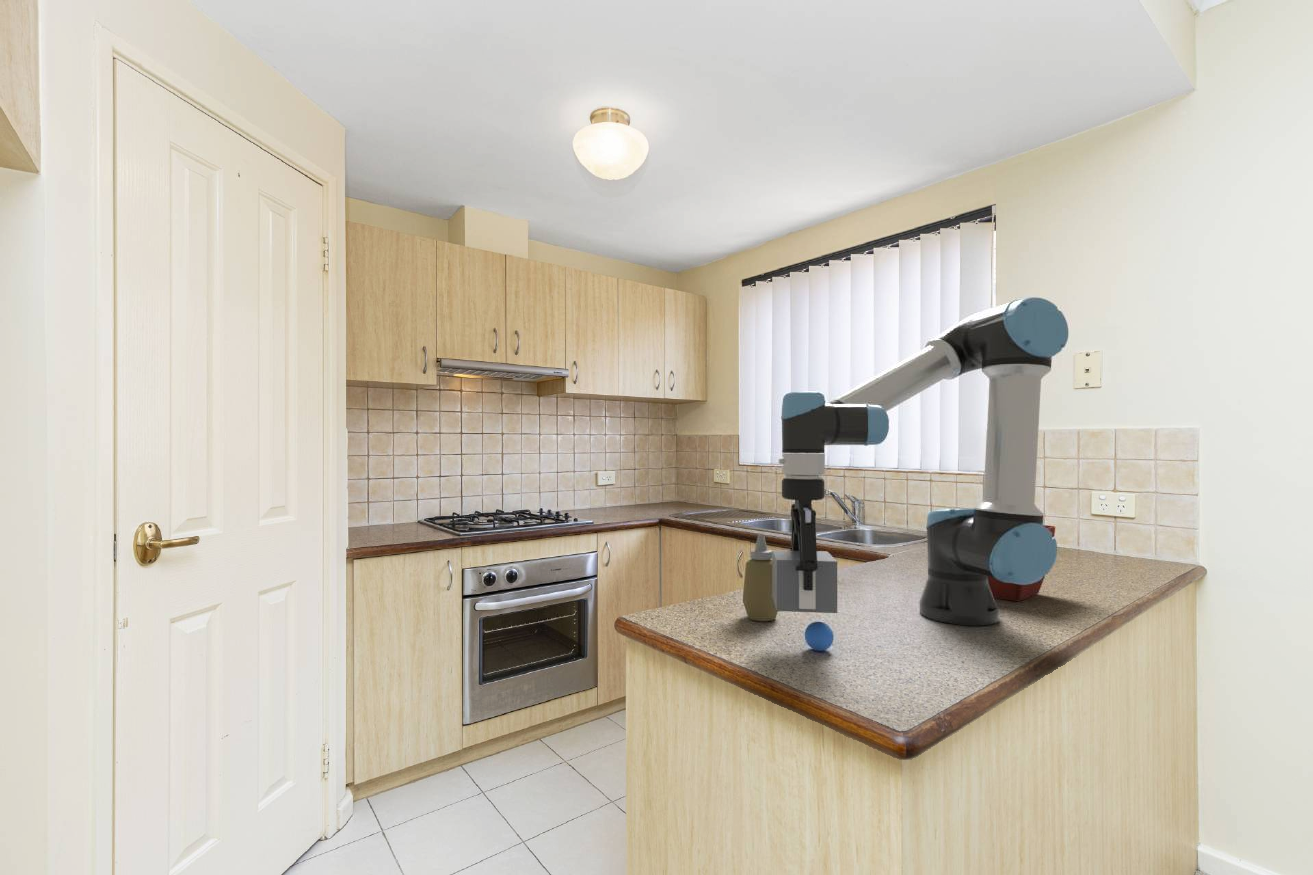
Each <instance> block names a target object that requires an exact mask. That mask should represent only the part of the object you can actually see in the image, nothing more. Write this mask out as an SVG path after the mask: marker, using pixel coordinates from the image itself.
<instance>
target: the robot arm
mask: <svg viewBox="0 0 1313 875" xmlns="http://www.w3.org/2000/svg"><path fill="white" fill-rule="evenodd" d="M1068 340H1069V326H1068V321H1067V319H1066V316H1065V315H1064V313H1063V312H1062V311H1061V310H1059V309H1058V307H1057V305H1056V304H1054V303H1053V302H1052V301H1050V300H1048V299H1045V298H1042V297H1036V296H1034V297H1026V298H1023V299H1015V300H1012V301H1011V302H1007V303H1006V304H1002V305H999V306H996V307H993V308H990V309H987V310H984V311H980V312H977V313H974V314H973V315H972V314H971V315H970V316H968V317H966V318H964V319H963V320H961V321H960V322H958V323H957V324H955V325H953V326H951V327H950V328H948V329H946V330H945V331H943V332H942V333H940V334H939V335H937V336H935V337H934V338H932V339H931V340H929V341H927V342H926V344H925V347H924V349H922V350H920V351H919V352H916V353H915V354H913V355H911V356H910V357H908V358H906V359H904V360H902V361H901V362H899V363H897V364H895V365H893V366H891V367H890V368H888V369H886V370H884V371H883V372H881V373H879V374H878V375H876V376H874V377H872V378H870V379H869V380H867V381H865V382H863V383H861V384H859V385H857V386H856V387H854V388H852V389H851V390H849V391H847V392H845V393H843V394H842V395H840V396H838V397H837V398H834V399H833V400H831V401H830V402H827V403H826V400H825V395H824V393H823V392H821V391H814V390H813V391H802V390H801V391H794V392H793V391H791V392H789V393H786V394H785V395H783V397H782V404H781V416H780V419H781V444H782V445H781V454H782V455H781V456H782V458H779V459H778V464H780V465H781V468H782V469H781V472H782V473H781V474H782V475H783V476H785V477H784V478H782V480H781V496H782V498H783V499H784V500H791V501H794V503H792V504H791V505H790V506H791V509H790V516H791V522H790V523H791V525H790V526H791V531H790V532H791V533H790V534H791V536H790V548H789V550H791V551H799V556H800V566H796V571H799V609H816V569H818V564H817V551H818V550H817V530H816V527H817V526H816V521H817V520H816V519H817V517H816V516H817V512H816V510H815V509H813V504H812V501H820V500H823V499H825V491H826V490H825V488H826V487H825V484H826V483H825V480H824V478H822V477H823V476H825V474H826V471H825V470H826V468H825V467H826V454H825V446H866V447H867V446H877V445H880V444H883V442H884V441H885V440H886V439H887V437H888V434H889V431H890V419H889V418H890V417H889V415H888V413H887V412H888V411H890V410H891V409H893V408H895V407H897V406H899V405H900V404H902V403H904V402H906V401H907V400H909V399H911V398H912V397H914V396H916V395H918V394H920V393H922V392H924V391H925V390H927V389H928V388H930V387H932V386H934V385H936V384H937V383H940V382H941V381H942V380H943V381H944V380H947V381H948V380H949V381H951V380H954V379H956V378H958V377H959V376H961V375H963V374H967V373H969V372H973V371H976V370H981V373H983V374H984V375H985V376H986V378H988V380H989V389H988V408H987V420H986V421H987V424H986V441H985V457H984V458H985V460H984V461H985V462H984V474H983V475H984V476H983V480H984V482H983V494H982V496H983V498H982V500H981V501H980V502H978V504H976V505H975V506H973V508H952V509H951V508H950V509H945V508H944V509H933V510H930V511H929V512H928V514H927V518H926V527H925V529H926V539H927V540H926V541H927V543H926V545H927V546H926V547H927V553H926V554H927V579H926V582H925V584H924V586H923V587H924V588H923V591H922V594H921V596H920V599H919V613H920V614H921V615H922V616H923V617H926V618H928V619H931V620H933V621H937V622H942V623H946V624H952V625H960V626H961V625H962V626H988V625H993V624H996V623H998V622H999V608H998V605H997V603H996V600H995V598H994V597H993V594H992V591H991V589H990V586H989V582H988V576H989V577H992V578H995V579H997V580H1000V581H1002V582H1005V583H1007V582H1008V583H1015V584H1020V585H1026V584H1032V583H1035V582H1037V581H1039V580H1041V579H1042V578H1043V576H1044V575H1045V576H1046V575H1048V574H1049V573H1050V571H1052V569H1053V567H1054V565H1055V563H1056V560H1057V555H1058V544H1057V540H1056V538H1055V536H1054V537H1053V536H1052V533H1051V531H1049V530H1048V529H1047V528H1046V527H1044V526H1043V525H1044V513H1043V512H1042V510H1041V509H1039V508H1038V507H1037V506H1036V503H1035V501H1036V500H1035V499H1036V482H1037V466H1038V465H1037V463H1038V462H1037V461H1038V442H1039V427H1040V408H1041V407H1040V406H1041V405H1040V404H1041V392H1042V390H1041V386H1042V379H1043V378H1044V377H1045V376H1046V375H1048V374H1049V373H1050V372H1051V371H1052V361H1053V357H1054V356H1056V355H1058V354H1059V353H1060V352H1061V351H1062V349H1063V348H1065V346H1066V345H1067V342H1068ZM805 561H810V562H805Z"/></svg>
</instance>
